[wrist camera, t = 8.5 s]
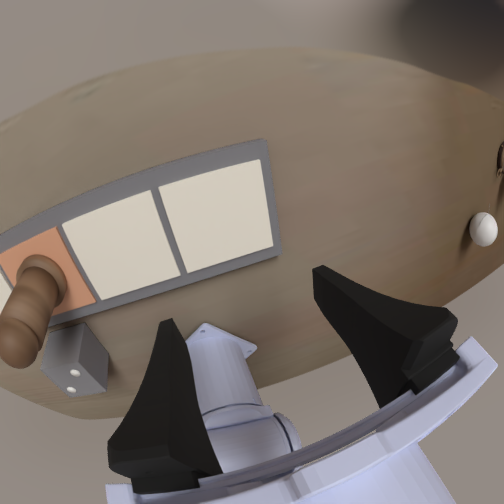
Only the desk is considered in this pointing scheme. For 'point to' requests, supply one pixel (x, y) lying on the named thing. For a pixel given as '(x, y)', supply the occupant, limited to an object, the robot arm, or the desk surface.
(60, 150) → the desk surface
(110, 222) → the board
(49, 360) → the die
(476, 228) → the seamed sphere
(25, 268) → the pawn
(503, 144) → the compass
